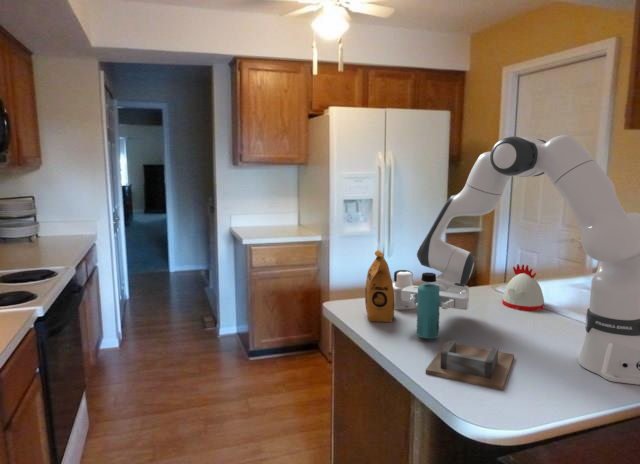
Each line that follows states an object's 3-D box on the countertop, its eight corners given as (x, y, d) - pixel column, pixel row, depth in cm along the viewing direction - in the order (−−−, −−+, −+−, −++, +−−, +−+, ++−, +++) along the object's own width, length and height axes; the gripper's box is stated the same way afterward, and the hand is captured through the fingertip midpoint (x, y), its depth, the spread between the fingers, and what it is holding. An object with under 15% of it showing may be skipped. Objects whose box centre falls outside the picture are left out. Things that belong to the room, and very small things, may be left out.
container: (389, 303, 172) (390, 268, 170) (409, 302, 173) (410, 268, 171) (395, 309, 164) (395, 274, 162) (416, 308, 165) (417, 273, 163)
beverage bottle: (439, 344, 133) (441, 276, 130) (415, 342, 134) (417, 275, 131) (438, 336, 139) (440, 271, 136) (415, 334, 141) (417, 270, 138)
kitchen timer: (512, 297, 179) (515, 259, 176) (549, 305, 169) (552, 264, 166) (495, 304, 169) (497, 264, 167) (533, 313, 159) (536, 271, 157)
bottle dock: (513, 358, 124) (514, 340, 123) (502, 390, 106) (503, 369, 106) (445, 345, 132) (446, 328, 132) (425, 373, 115) (426, 354, 114)
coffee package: (363, 322, 152) (364, 256, 148) (365, 310, 164) (365, 249, 160) (394, 323, 150) (396, 257, 147) (393, 311, 162) (394, 249, 159)
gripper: (408, 278, 151) (394, 288, 139) (473, 286, 141) (463, 298, 129) (408, 297, 152) (393, 309, 140) (472, 306, 142) (462, 319, 130)
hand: (427, 304), depth 135 cm, fingers open, 8 cm apart
